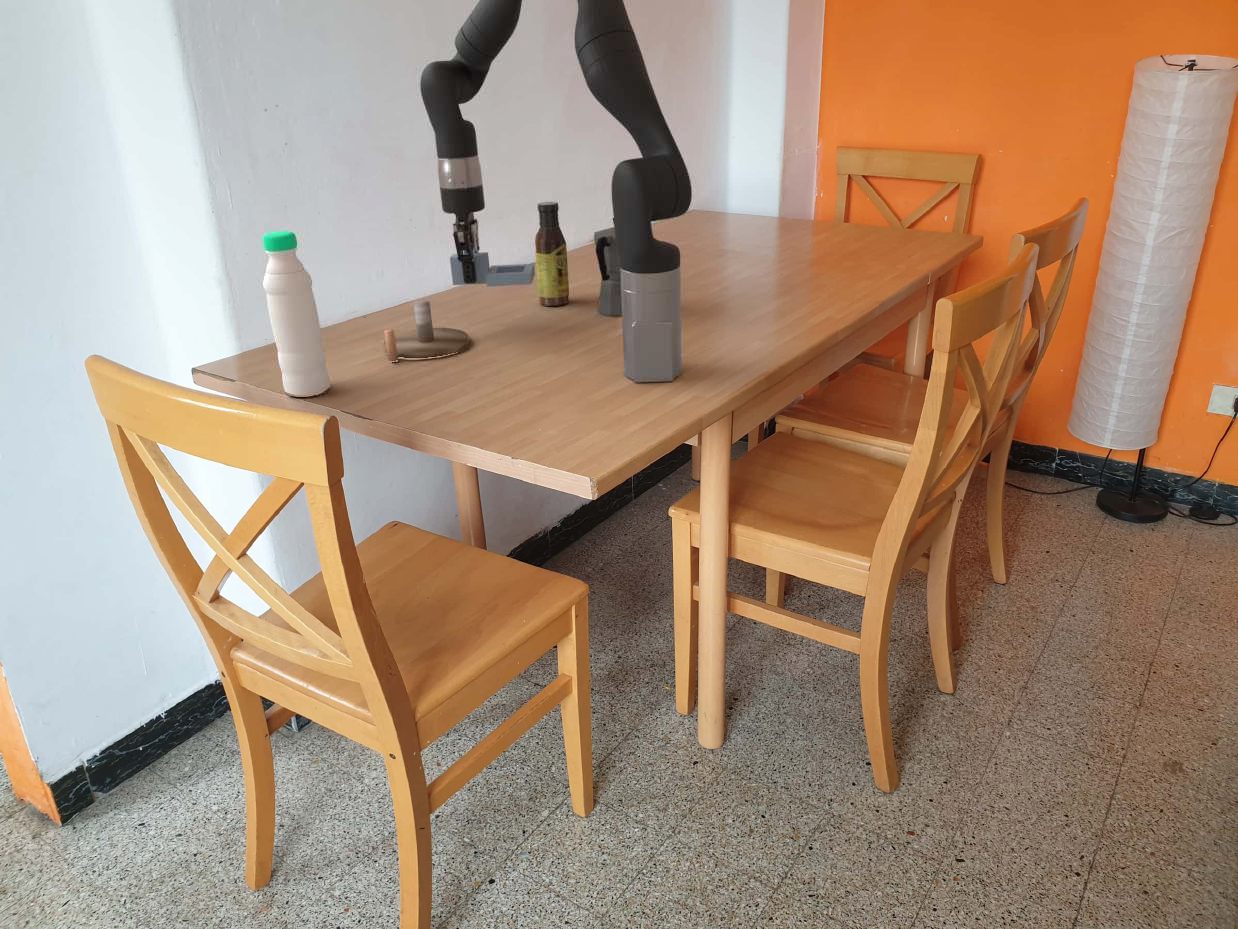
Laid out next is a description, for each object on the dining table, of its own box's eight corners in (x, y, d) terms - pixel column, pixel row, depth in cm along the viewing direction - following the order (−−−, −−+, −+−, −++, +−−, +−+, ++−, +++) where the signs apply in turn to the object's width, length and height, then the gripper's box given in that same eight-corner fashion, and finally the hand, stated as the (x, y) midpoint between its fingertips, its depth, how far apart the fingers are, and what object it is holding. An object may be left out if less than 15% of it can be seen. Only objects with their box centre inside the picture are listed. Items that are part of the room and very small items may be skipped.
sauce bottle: (565, 307, 190) (558, 206, 182) (535, 307, 192) (527, 206, 183) (573, 298, 196) (567, 199, 188) (544, 298, 197) (536, 200, 189)
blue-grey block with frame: (535, 274, 179) (532, 247, 177) (531, 284, 171) (528, 256, 169) (457, 278, 179) (454, 251, 177) (450, 288, 172) (447, 260, 170)
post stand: (462, 358, 164) (457, 313, 160) (375, 361, 164) (368, 316, 161) (475, 332, 177) (470, 290, 174) (394, 335, 178) (388, 293, 174)
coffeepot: (612, 299, 194) (608, 209, 187) (655, 303, 191) (653, 211, 183) (579, 320, 182) (573, 225, 174) (624, 325, 178) (620, 227, 170)
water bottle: (314, 380, 157) (285, 226, 146) (340, 389, 153) (312, 231, 142) (276, 393, 152) (243, 235, 141) (301, 402, 148) (270, 240, 137)
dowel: (397, 362, 163) (392, 331, 161) (387, 363, 163) (383, 332, 161) (399, 359, 165) (394, 329, 162) (390, 360, 165) (385, 329, 162)
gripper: (476, 187, 162) (487, 288, 169) (487, 176, 175) (496, 270, 182) (432, 190, 162) (445, 290, 169) (446, 179, 175) (457, 272, 182)
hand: (471, 279), depth 175 cm, fingers closed on blue-grey block with frame, 3 cm apart
